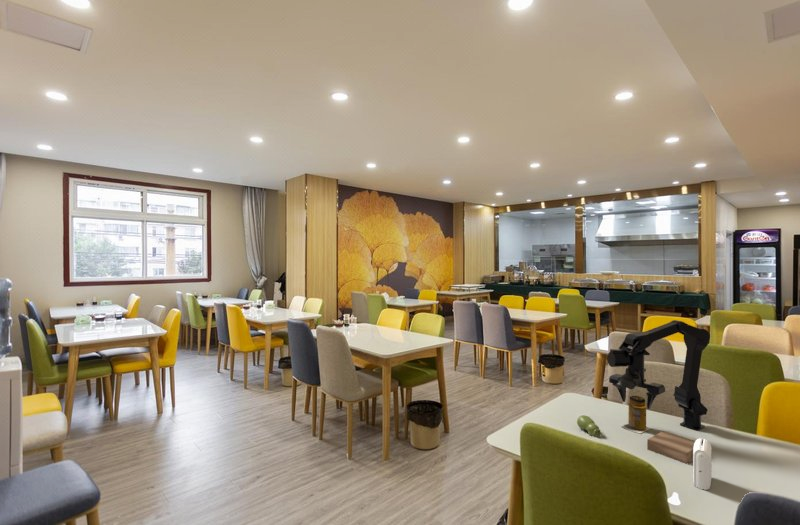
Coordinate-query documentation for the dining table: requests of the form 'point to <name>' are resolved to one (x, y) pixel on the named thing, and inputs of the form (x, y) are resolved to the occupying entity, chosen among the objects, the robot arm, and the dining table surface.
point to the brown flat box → (672, 446)
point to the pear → (588, 425)
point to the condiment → (637, 415)
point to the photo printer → (702, 464)
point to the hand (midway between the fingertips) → (636, 405)
